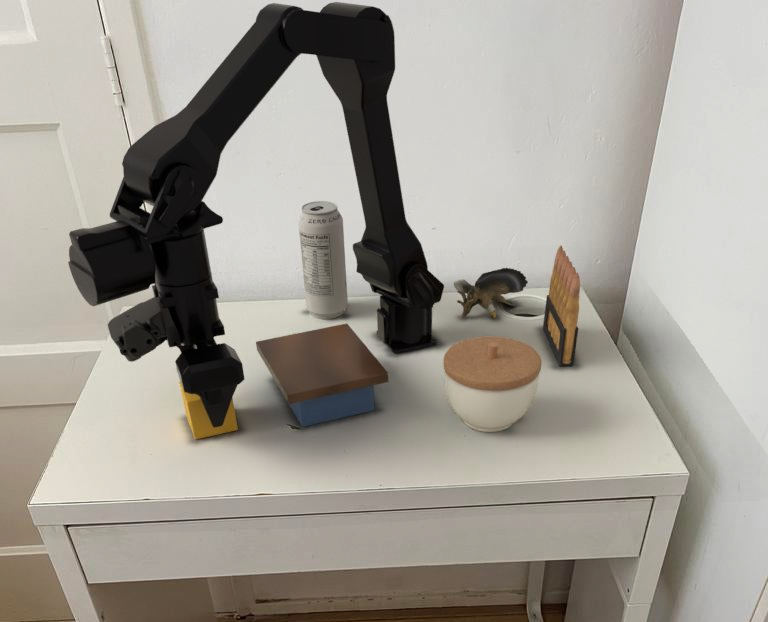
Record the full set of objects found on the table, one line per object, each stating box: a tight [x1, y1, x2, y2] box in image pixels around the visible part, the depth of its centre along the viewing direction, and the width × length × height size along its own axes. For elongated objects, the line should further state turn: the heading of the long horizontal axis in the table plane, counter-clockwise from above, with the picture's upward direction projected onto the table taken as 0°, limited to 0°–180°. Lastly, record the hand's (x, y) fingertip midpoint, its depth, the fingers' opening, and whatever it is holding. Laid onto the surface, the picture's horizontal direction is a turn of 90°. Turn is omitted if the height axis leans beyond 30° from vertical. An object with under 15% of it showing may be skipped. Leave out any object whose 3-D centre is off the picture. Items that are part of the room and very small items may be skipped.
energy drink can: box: [297, 200, 349, 320], centre depth 109 cm, size 6×6×15 cm
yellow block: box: [178, 381, 239, 440], centre depth 90 cm, size 5×5×5 cm
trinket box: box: [443, 336, 542, 433], centre depth 88 cm, size 11×11×9 cm
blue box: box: [288, 385, 375, 428], centre depth 95 cm, size 9×12×4 cm
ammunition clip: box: [542, 245, 581, 367], centre depth 100 cm, size 11×2×12 cm, turn 3°
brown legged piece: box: [453, 267, 529, 319], centre depth 111 cm, size 8×7×9 cm
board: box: [255, 323, 389, 405], centre depth 93 cm, size 12×14×1 cm
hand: (209, 406), depth 90 cm, fingers open, 9 cm apart
